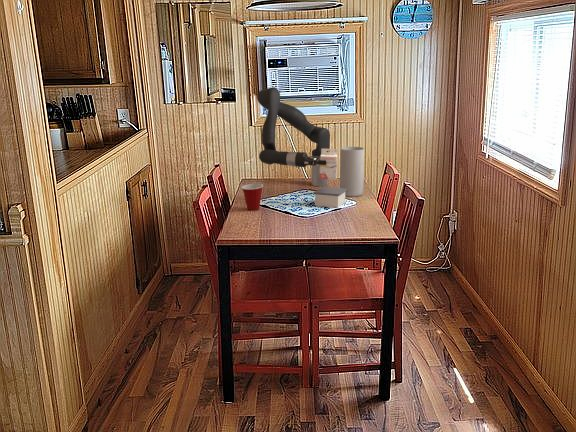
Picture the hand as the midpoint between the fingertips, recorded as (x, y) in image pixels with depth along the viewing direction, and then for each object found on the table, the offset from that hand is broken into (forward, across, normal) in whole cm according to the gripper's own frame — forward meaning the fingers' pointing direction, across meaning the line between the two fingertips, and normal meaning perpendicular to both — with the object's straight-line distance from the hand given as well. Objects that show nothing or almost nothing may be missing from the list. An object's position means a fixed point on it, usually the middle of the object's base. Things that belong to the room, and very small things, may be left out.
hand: (328, 161), depth 295 cm
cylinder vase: (+5, +24, +22) cm, 33 cm away
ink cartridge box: (0, 0, +9) cm, 9 cm away
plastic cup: (-30, -24, +22) cm, 45 cm away
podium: (+1, 0, +22) cm, 22 cm away
